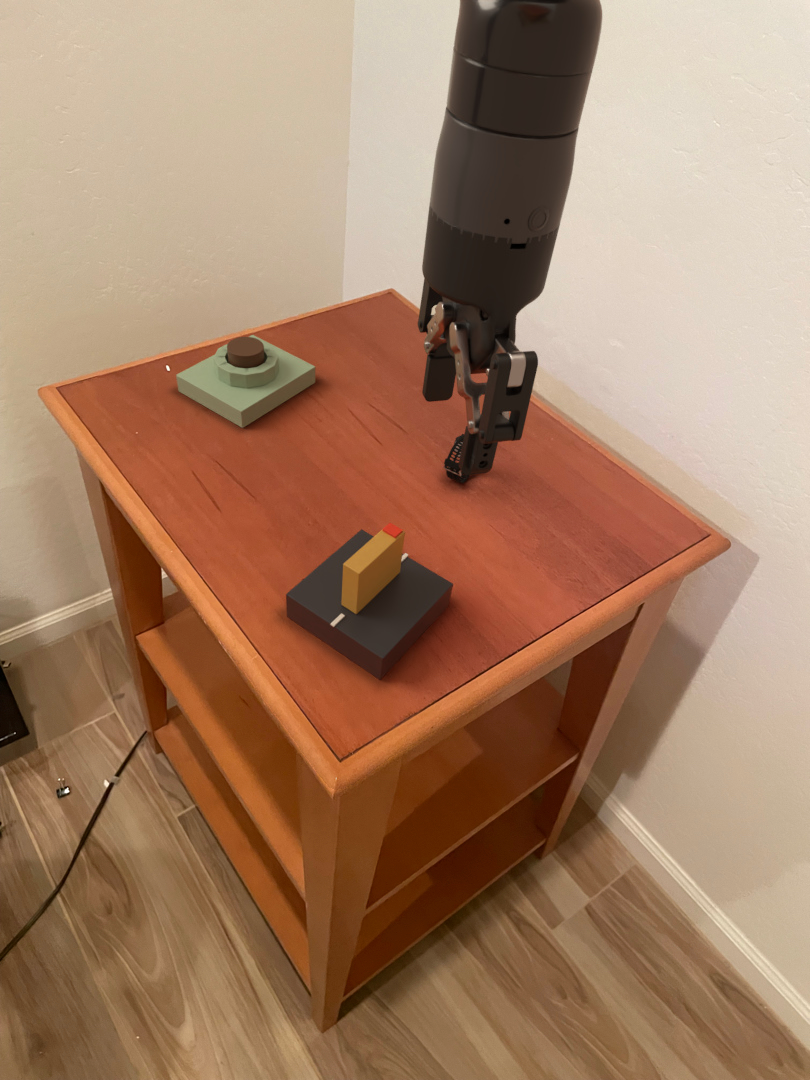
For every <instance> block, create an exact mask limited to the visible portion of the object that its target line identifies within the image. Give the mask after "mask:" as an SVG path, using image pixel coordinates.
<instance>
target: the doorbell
mask: <svg viewBox="0 0 810 1080" xmlns="http://www.w3.org/2000/svg"><path fill="white" fill-rule="evenodd" d="M248 337H252V338H256V339H258V340H260V341H261V342H262V343H263V345H264V358H265V360H264V363H263V364H262V365H260V366H258V367H254V368H248V369H245V368H238V367H234V366H233V365H231V364H230V363H229V362H228V353H227V344H228V343H226V344H223V345H222V346H220V347H218V348H217V350H216V352H215V354H213V355H211V356H209V357H207V358H206V359H203V360H201V361H199V362H197V363H196V364H194V365H192V366H190V367H188V368H186V369H184V370H183V371H180V372H179V373H176V374H175V378H176V384H177V391H178V392H179V393H181V394H182V395H184V396H186V397H188V398H190V399H191V400H193V401H195V402H196V403H198V404H200V405H201V406H203V407H205V408H207V409H209V410H210V411H212V412H214V413H215V414H217V415H218V416H221V417H222V418H224V419H226V420H227V421H229V422H231V423H233V424H234V425H237V426H238V427H240V428H241V429H244V428H245V427H247V426H248V425H250V424H252V423H253V422H255V421H256V420H258V419H259V418H261V417H263V416H264V415H266V414H267V413H269V412H271V411H272V410H274V409H275V408H277V407H279V406H280V405H282V404H283V403H285V402H286V401H288V400H290V399H292V398H293V397H294V396H296V395H298V394H299V393H301V392H302V391H304V390H305V389H307V388H309V387H311V386H312V385H314V384H315V383H316V366H315V365H313V364H311V363H309V362H307V361H306V360H303V359H302V358H299V357H298V356H296V355H294V354H292V353H289V352H288V351H286V350H284V349H282V348H280V347H278V346H276V345H274V344H272V343H270V342H268V341H266V340H265V339H262V338H260V337H259V336H256V335H254V334H251V335H249V336H248Z"/></svg>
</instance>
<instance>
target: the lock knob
mask: <svg viewBox="0 0 810 1080" xmlns="http://www.w3.org/2000/svg"><path fill="white" fill-rule="evenodd" d="M405 535H406V531H405V530H403V528H400V527H398V526H396V525H395V524H393V523H392V522H388V523H387V524H386V525H385V526H384V527H383V528H382V529H381V530H380V531H379V532H377V533H376V534H375V535H373V536H374V537H373V538H372V539H371V540H370V541H369V542H367V543H366V544H365V545H364V546H363V547H362V548H361V549H360V550H358V551H357V552H356V553H355V554H354V555H353V556H352V557H350V558H349V559H348V560H347V561H346V562H345V563H344V564H343V581H342V603H341V604H342V605H343V606H344V607H346V608H347V609H349V610H350V611H352V612H353V613H355V614H357V613H358V612H359V611H360V610H361V609H363V608H364V607H365V606H366V605H367V604H368V603H369V602H370V601H371V600H372V599H373V598H374V597H375V596H376V595H377V594H378V593H379V592H380V591H381V590H382V589H383V588H384V587H385V586H386V585H387V584H388V583H389V582H390V581H392V580H393V579H394V578H395V577H396V576H397V575H398V574H399V573H400V568H401V560H402V554H403V552H404V551H403V550H404V545H405V543H404V542H405V537H406V536H405Z"/></svg>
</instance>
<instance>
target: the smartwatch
mask: <svg viewBox="0 0 810 1080" xmlns="http://www.w3.org/2000/svg"><path fill="white" fill-rule="evenodd" d="M464 434H465V433H461V435H458V436H456V437H455V440H454V442H453V445H452V447H451V448H450V450H449V452H448V455H447V456H446V458H444V462H443V469H444V470H446V471H445V472H446V476H447V478H449V479H451V480H452V481H454V482H457V483H459V484H461V485H463V484H464V483H465V482H467V480H468V479H469V478H470V476H471V475H464V474H463V473H462V471H461V470H460V468H459V460H460V455H461V450H462V444H463V439H464Z"/></svg>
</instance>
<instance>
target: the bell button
mask: <svg viewBox="0 0 810 1080" xmlns="http://www.w3.org/2000/svg"><path fill="white" fill-rule="evenodd" d="M226 344H227V353H228V362H229V363H230V364H231V365H233V366H234V367H238V368H245V369H248V368H254V367H258V366H260V365H262V364H263V363H264V360H265V358H264V345H263V343H262V342H261V341H260V340H258V339H256V338H252V337H249V336H239V337H235V338H233V339H231V340H230V341H228V343H226Z"/></svg>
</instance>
